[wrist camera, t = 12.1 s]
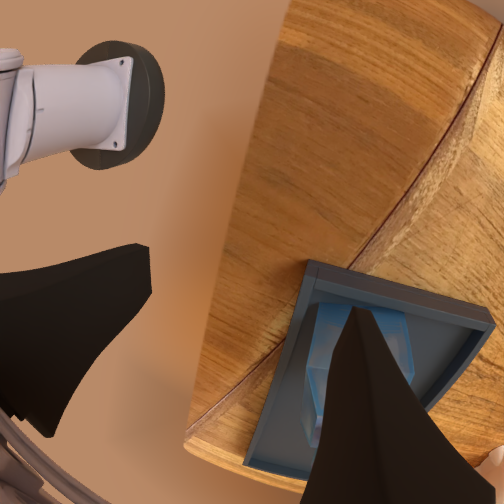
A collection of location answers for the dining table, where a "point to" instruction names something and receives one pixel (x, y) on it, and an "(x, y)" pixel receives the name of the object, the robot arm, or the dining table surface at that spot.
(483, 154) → the dining table surface
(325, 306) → the perfume bottle
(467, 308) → the tray
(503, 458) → the figurine
